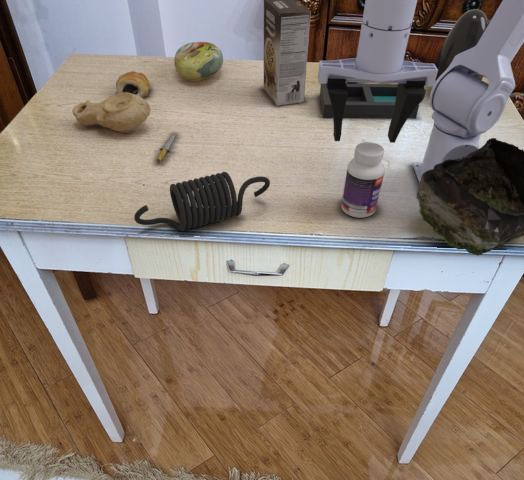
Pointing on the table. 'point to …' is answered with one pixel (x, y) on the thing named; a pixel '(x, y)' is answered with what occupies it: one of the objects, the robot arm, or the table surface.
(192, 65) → the cell model
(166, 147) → the dagger
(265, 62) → the coffee box
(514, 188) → the rock
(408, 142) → the table surface
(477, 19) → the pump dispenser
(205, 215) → the coil
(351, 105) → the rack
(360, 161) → the pill bottle
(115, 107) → the oil lamp
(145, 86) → the pastry
